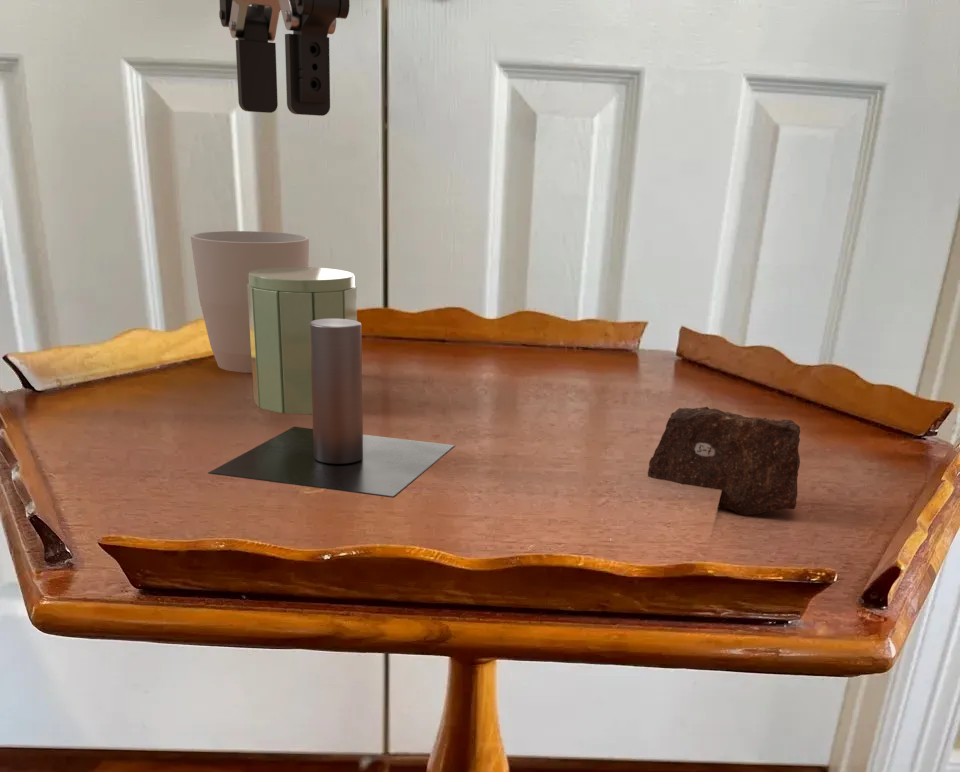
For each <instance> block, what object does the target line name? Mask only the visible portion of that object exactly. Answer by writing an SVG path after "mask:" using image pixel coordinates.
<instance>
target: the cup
mask: <svg viewBox="0 0 960 772" xmlns="http://www.w3.org/2000/svg"><path fill="white" fill-rule="evenodd" d="M189 236H190V243H191V250H192V258H193V264H194V266H193V267H194V272H195V281H196V286H197V287H196V288H197V293H198V299H199V304H200V308H201V313H202V317H203V321H204V325H205V329H206V333H207V337H208V341H209V345H210V349H211V352H212V354H213V356H214V359H215V361H216V364H217V366H218V368H219V369H221V370H225V371H228V372H234V373H235V372H236V373H243V374H245V373H246V374H252V359H251V342H250V325H249V309H248V292H247V284H248V283H249V282H248V272H249V271H252V270H256V269H262V268H274V267H309V263H310V262H309V261H310V259H309V257H310V256H309V255H310V237H308V236H305V235H301V234H294V233H287V232H273V231H254V230H253V231H252V230H249V231H247V230H227V231H226V230H224V231H206V232H196V233H193V234H190V235H189Z"/></svg>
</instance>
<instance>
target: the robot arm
mask: <svg viewBox="0 0 960 772" xmlns="http://www.w3.org/2000/svg"><path fill="white" fill-rule="evenodd" d="M350 6H351V5H350V0H219V12H218V15H219V20H220V24H221V26H222V27H223V28H228V30H229V33H230V36H231V38H232V39H235V56H236V57H235V58H236V59H235V60H236V76H237V96H238V99H237V100H238V105H239V107H240V109H241V110H242V111H244V112H249V113H267V114H270V113H271V114H272V113H274V112H275V111H277V110H278V105H279V104H278V77H277V75H278V74H277V72H278V71H277V47H276V45H277V43H276V42H274V41H275V39H276V36H277V35H276V34H277V29H278V24H279V18H280V12H281V16H282V19H283V23H284V27H285V29H286V30H287V31H291V32H292V33H285V34H284V53H285V84H286V87H285V88H286V89H285V90H286V107H287V109H288V111H289V112H290V113H291V114H294V115H301V116H302V115H303V116H319V117H321V116H323V117H324V116H327V114H328V113H329V112H330V110H331V70H330V67H331V66H330V65H331V63H330V60H331V59H330V37H328V35H334V33H335V31H336V28H337V19H340V20H341V19H342V20H346V19H347V18H348V16H349V13H350Z"/></svg>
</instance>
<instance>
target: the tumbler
mask: <svg viewBox="0 0 960 772" xmlns="http://www.w3.org/2000/svg"><path fill="white" fill-rule="evenodd" d="M355 279H356V277H355V274H354V273H353V272H350V271H347V270H344V269H343V270H342V269H335V268H327V267H310V266H308V267H274V268H262V269H256V270H252V271H249V272H248V282H249V283H248V284H247V292H248V309H249V325H250V342H251V359H252V373H251V375H252V389H253V402H254V403H255V404H256V406H257V407H258V408H259V409H262V410H266V411H270V412H275V413H279V414H287V415H313V414H312V386H311V357H310V329H309V323H310V322H311V321H313V320H318V319H348V320H354V321H358V287H357V286H356V285H355V283H356V282H355Z"/></svg>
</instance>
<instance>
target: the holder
mask: <svg viewBox="0 0 960 772" xmlns="http://www.w3.org/2000/svg"><path fill="white" fill-rule="evenodd" d="M309 329H310V357H311V386H312V414H311V415H312V428H311V427H301V426H292V427H291V428H289V429H286V430H285V431H283V432H281V433H279V434H277V435H275V436H273V437H272V438H269V439H268V440H266V441H264V442H263V443H262V442H261V444H258V445H256V446H255V447H253V448H251V449H249V450H247V451H246V452H244V453H242V454H240V455H238V456H236V457H235V458H233V459H231V460H229V461H227V462H225V463H223V464H222V465H220V466H218V467H216V468H214V469H212V470H210V471H208V472H207V474H209V475H214V476H224V477H232V478H237V479H245V480H255V481H261V482H270V483H277V484H285V485H293V486H300V487H308V488H315V489H323V490H330V491H338V492H347V493H353V494H354V493H355V494H362V495H369V496H375V497H376V496H377V497H383V498H384V497H385V498H395V497H397V496H398V495H400V493H401V492H403V491H404V490H405V489H406V488H408V486H410V485H411V484H412V483H413V482H414V481H416V480H417V479H418V478H419V477H420V476H422V475H423V474H424V473H425V472H426V471H427V470H428V469H430V468H431V467H432V466H434V465H435V464H436V463H437V462H439V460H440V459H442V458H443V457H444V456H446V455H447V454H448V453H449V452H450V451H451V450H452V449H454V448H455V447H456V445H455V444H449V443H440V442H433V441H431V442H430V441H422V440H413V439H404V438H397V437H389V436H388V437H387V436H379V435H370V434H364V431H363V430H364V423H363V421H364V414H363V411H364V409H363V359H362V358H363V352H362V351H363V349H362V348H363V347H362V346H363V344H362V343H363V342H362V338H363V337H362V323H361V322H360V321H358V320H357V321H354V320H348V319H318V320H313V321H311V322H310V323H309Z"/></svg>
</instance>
